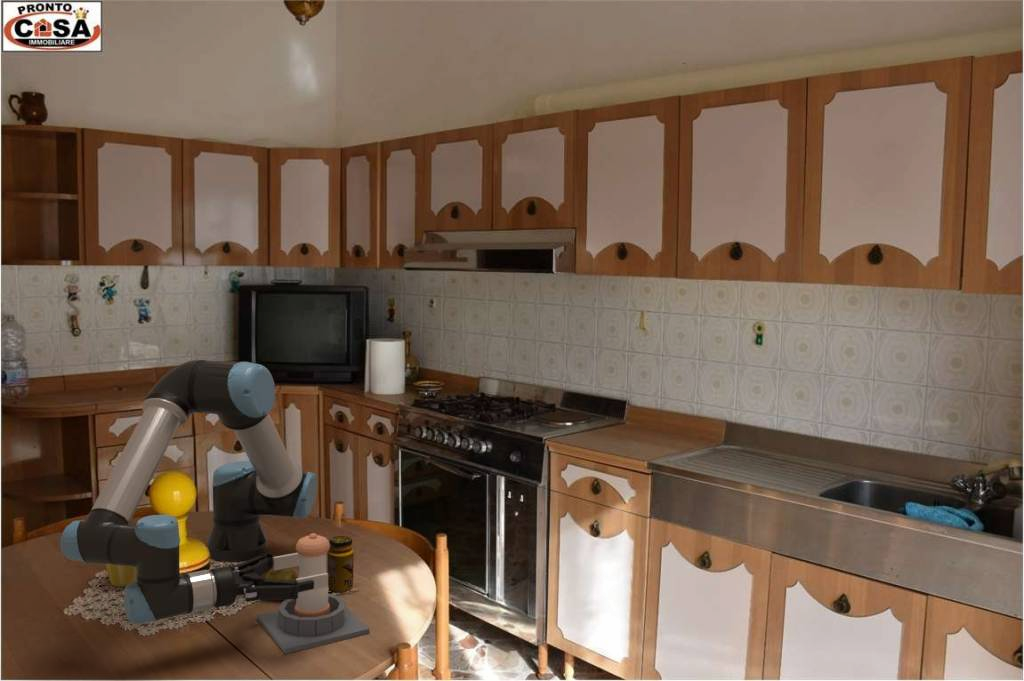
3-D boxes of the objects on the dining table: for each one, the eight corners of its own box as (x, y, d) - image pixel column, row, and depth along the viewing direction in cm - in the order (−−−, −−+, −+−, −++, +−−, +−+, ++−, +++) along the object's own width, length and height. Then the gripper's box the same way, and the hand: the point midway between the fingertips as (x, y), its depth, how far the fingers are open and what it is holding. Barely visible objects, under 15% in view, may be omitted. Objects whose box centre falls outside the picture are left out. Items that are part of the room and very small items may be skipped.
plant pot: (91, 584, 198) (90, 543, 197) (129, 569, 207) (128, 530, 206) (121, 593, 193) (120, 552, 192) (159, 578, 202) (158, 539, 201)
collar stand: (256, 619, 183) (256, 599, 182) (335, 601, 193) (336, 582, 192) (285, 654, 168) (285, 632, 167) (369, 633, 178) (369, 612, 177)
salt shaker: (287, 624, 178) (287, 536, 176) (308, 611, 185) (308, 526, 183) (316, 632, 175) (317, 541, 173) (336, 618, 182) (337, 531, 180)
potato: (287, 609, 188) (287, 575, 187) (246, 596, 194) (246, 562, 193) (314, 597, 195) (314, 563, 194) (273, 584, 201) (273, 551, 200)
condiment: (359, 590, 199) (360, 541, 198) (324, 598, 195) (325, 547, 193) (347, 580, 205) (347, 531, 204) (313, 586, 201) (313, 537, 199)
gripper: (195, 585, 178) (293, 566, 189) (230, 632, 157) (338, 607, 169) (194, 550, 177) (294, 533, 189) (229, 592, 156) (338, 571, 168)
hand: (315, 568), depth 179 cm, fingers open, 13 cm apart
